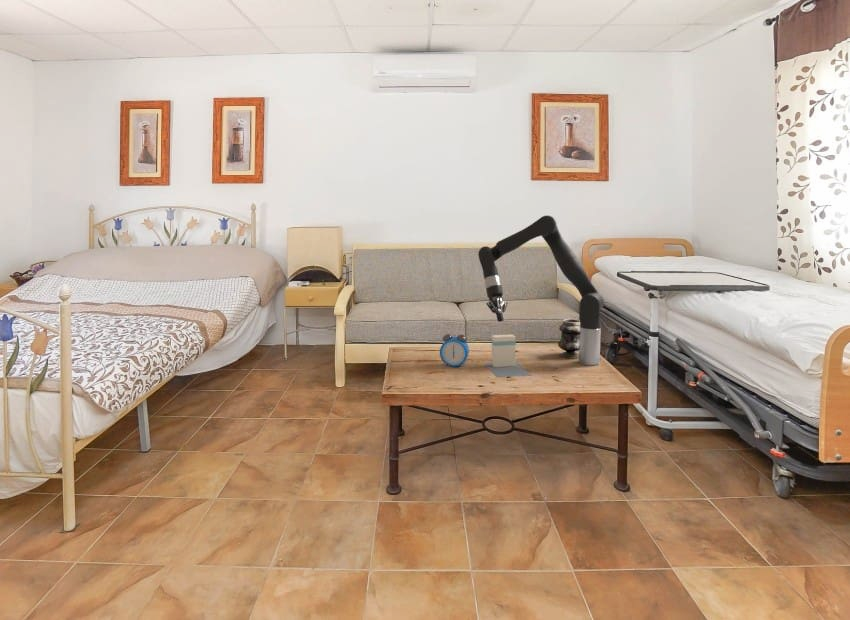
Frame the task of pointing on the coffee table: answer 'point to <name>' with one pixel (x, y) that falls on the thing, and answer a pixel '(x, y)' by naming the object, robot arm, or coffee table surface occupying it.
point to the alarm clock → (454, 350)
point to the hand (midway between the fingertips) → (500, 321)
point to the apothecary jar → (570, 338)
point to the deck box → (503, 350)
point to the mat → (508, 370)
